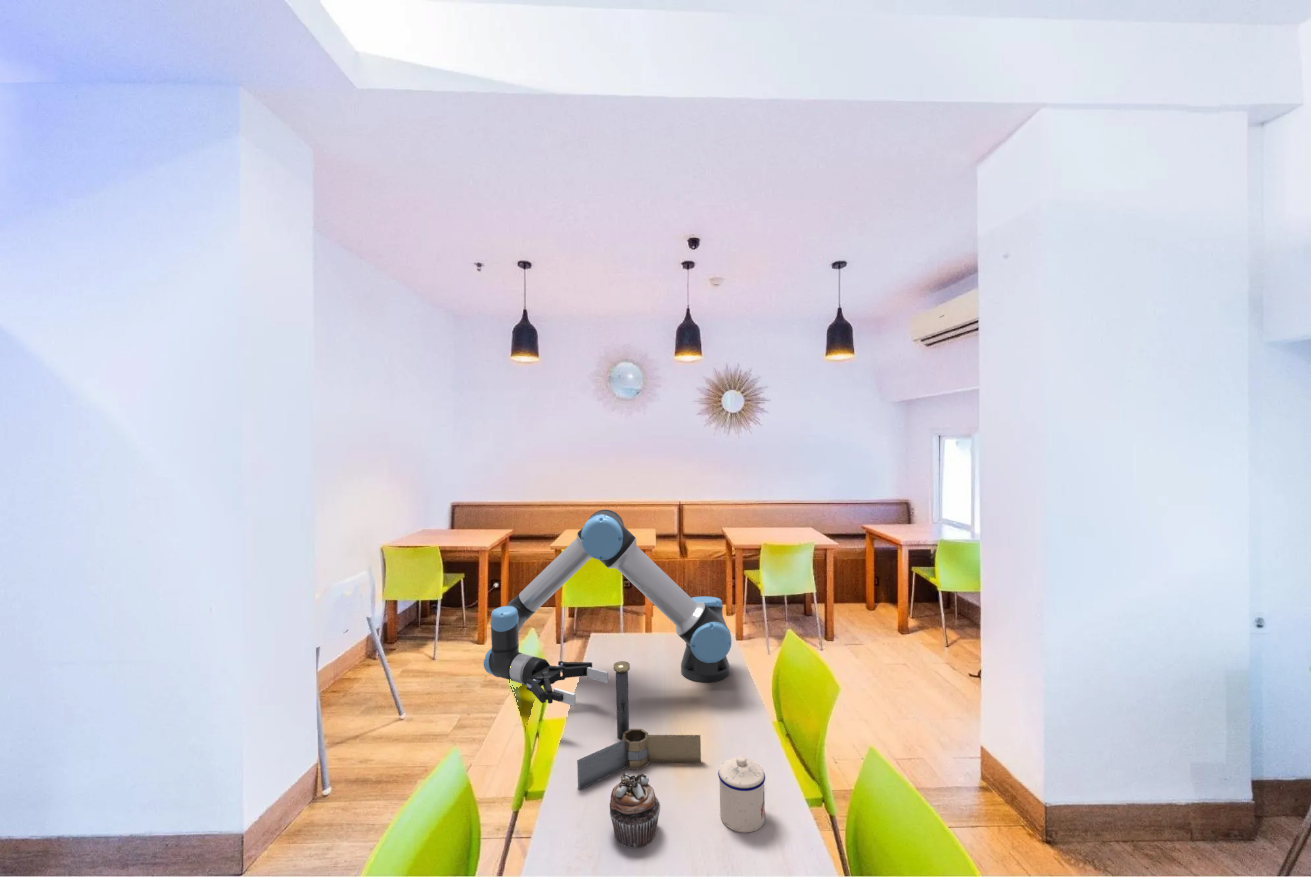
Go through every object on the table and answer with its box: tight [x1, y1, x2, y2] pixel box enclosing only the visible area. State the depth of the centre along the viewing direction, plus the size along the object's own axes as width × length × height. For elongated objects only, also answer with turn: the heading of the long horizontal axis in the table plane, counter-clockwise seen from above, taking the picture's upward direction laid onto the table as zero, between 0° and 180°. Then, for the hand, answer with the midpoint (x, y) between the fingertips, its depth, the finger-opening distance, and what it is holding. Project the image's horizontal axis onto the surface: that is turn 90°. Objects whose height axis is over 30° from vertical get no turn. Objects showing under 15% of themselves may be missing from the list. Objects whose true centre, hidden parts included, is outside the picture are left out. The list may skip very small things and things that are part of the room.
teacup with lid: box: [717, 755, 766, 833], centre depth 106 cm, size 12×9×12 cm
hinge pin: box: [613, 660, 631, 741], centre depth 133 cm, size 4×4×18 cm
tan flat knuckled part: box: [621, 728, 702, 770], centre depth 123 cm, size 18×6×6 cm, turn 87°
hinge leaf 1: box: [576, 738, 648, 790], centre depth 119 cm, size 18×6×6 cm, turn 127°
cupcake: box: [609, 771, 661, 849], centre depth 101 cm, size 10×10×10 cm
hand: (591, 688), depth 138 cm, fingers open, 13 cm apart
